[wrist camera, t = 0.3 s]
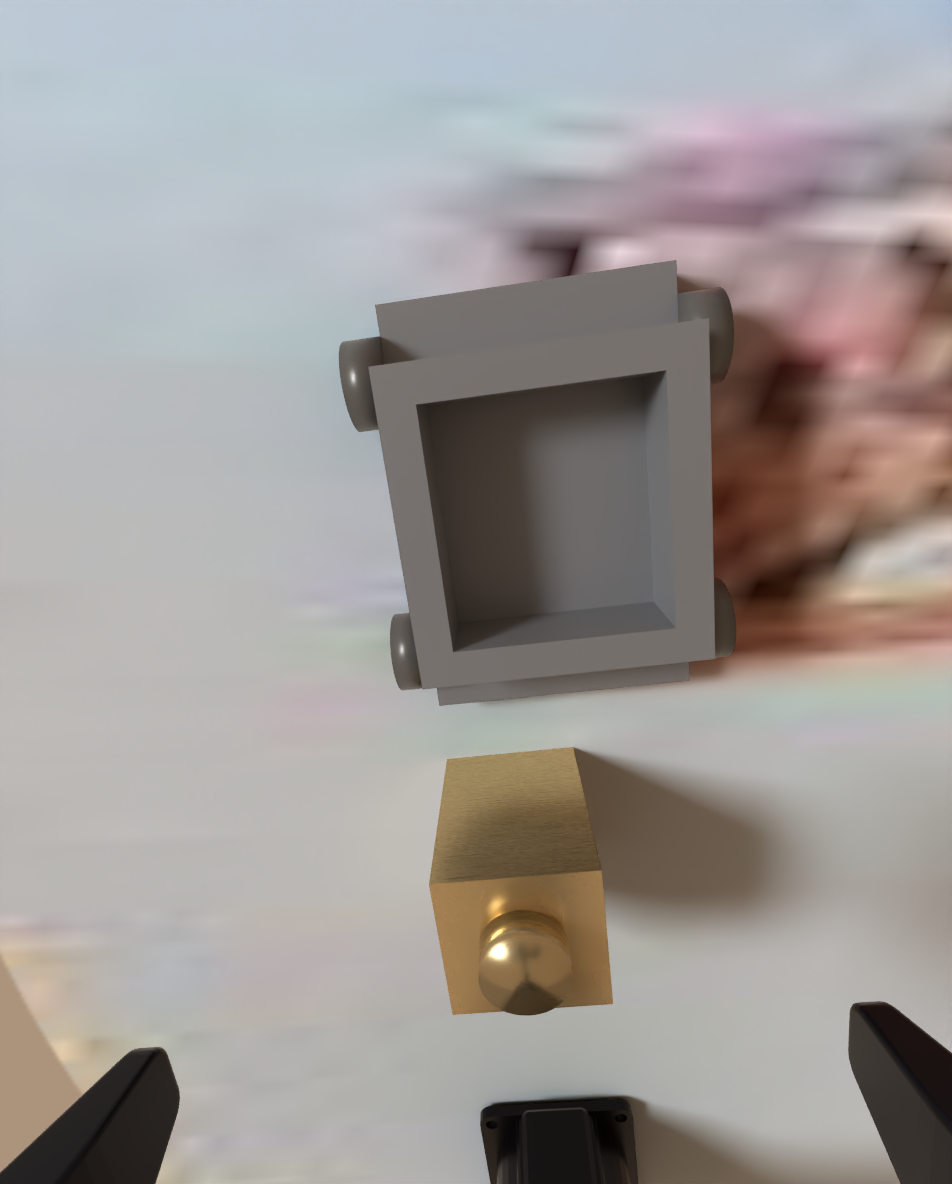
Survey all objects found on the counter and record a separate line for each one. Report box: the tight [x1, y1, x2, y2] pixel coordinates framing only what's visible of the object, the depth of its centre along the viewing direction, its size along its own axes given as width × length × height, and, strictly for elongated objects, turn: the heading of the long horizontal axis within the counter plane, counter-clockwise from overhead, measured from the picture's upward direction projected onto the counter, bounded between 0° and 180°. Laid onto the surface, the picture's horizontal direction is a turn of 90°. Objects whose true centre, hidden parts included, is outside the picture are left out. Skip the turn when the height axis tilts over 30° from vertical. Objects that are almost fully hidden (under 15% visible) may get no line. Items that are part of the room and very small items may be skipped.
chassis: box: [339, 260, 736, 706], centre depth 17 cm, size 12×10×4 cm
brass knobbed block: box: [429, 747, 613, 1015], centre depth 19 cm, size 4×4×7 cm
